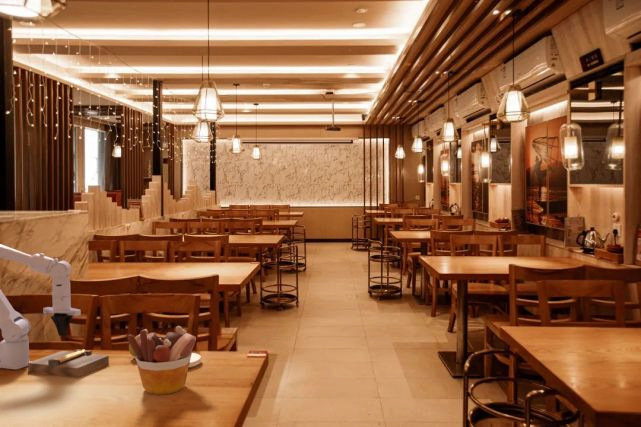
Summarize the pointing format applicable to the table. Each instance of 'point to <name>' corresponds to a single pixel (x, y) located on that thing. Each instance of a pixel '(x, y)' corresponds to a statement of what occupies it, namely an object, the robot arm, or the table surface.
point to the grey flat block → (68, 364)
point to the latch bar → (71, 355)
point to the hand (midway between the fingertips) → (62, 335)
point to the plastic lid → (195, 359)
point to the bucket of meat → (163, 360)
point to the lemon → (132, 349)
